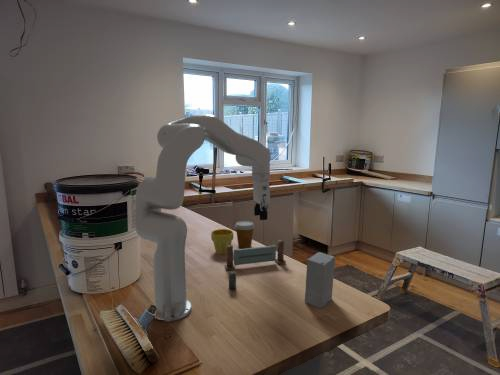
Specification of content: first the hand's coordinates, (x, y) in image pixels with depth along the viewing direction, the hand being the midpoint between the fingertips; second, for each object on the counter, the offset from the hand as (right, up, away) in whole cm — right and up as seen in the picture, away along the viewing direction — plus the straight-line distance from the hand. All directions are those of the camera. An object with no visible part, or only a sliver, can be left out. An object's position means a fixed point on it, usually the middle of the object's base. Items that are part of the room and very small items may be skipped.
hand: (260, 217), depth 141 cm
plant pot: (-18, -18, +14) cm, 29 cm away
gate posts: (-1, -22, -11) cm, 24 cm away
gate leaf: (-2, -19, -3) cm, 19 cm away
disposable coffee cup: (-7, -17, +21) cm, 28 cm away
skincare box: (+19, -26, -31) cm, 45 cm away
